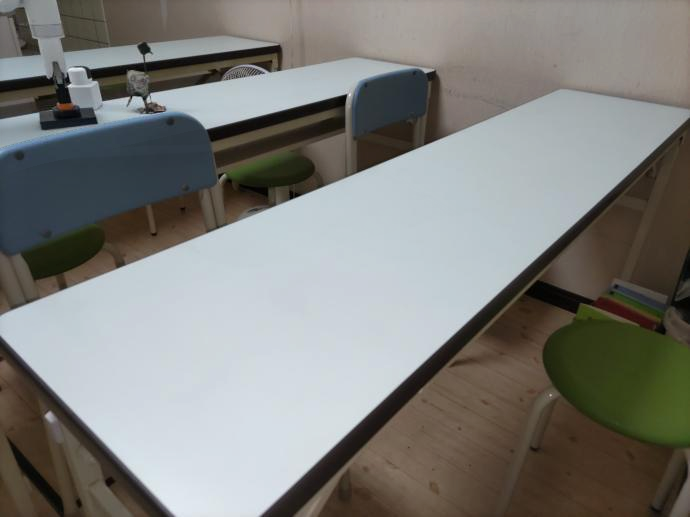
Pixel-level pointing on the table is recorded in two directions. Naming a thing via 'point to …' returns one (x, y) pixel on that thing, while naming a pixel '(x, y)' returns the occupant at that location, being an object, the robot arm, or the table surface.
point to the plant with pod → (141, 84)
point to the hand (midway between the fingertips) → (65, 102)
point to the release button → (65, 106)
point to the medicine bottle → (83, 88)
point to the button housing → (67, 117)
